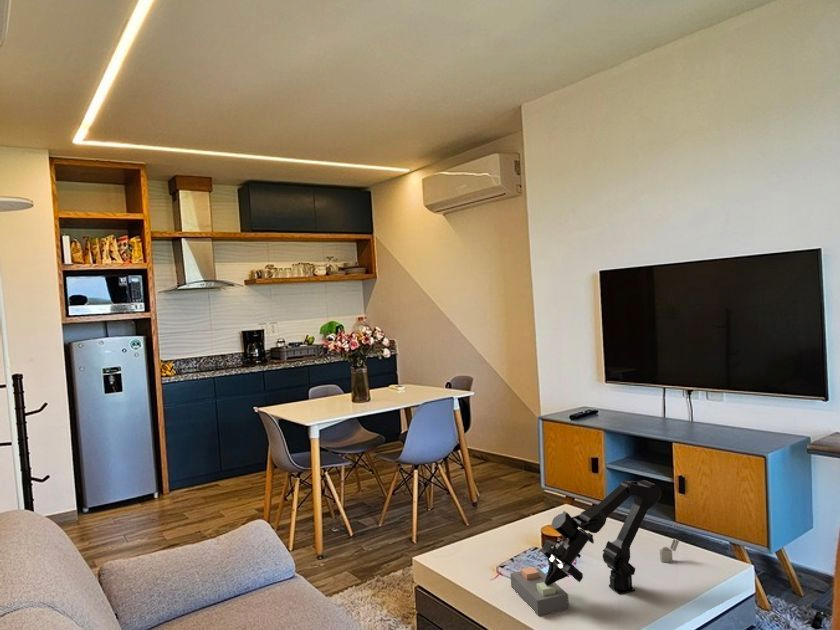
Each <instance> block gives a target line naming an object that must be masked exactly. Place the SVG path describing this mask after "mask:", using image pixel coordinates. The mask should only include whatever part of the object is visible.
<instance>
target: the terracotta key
mask: <svg viewBox="0 0 840 630" xmlns="http://www.w3.org/2000/svg"><path fill="white" fill-rule="evenodd" d="M520 571H521V576H522V577H523V578H524V579H525V580H526V581H527V580H533V579H538V578H539V572H538V571H537V570H536V568H535V567H534V566H529V567H524V568H521V569H520Z"/></svg>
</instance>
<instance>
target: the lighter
mask: <svg viewBox="0 0 840 630" xmlns="http://www.w3.org/2000/svg"><path fill="white" fill-rule="evenodd" d="M679 543H680V541H679V539H676V538H673V539H672V542H671V545H670V547H668V546H663V547H662V549H661V548H660V549H659V561H660V562H661V563H672V562H674V561H673V552H676V550H677V548H678V546H679Z"/></svg>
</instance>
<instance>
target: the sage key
mask: <svg viewBox="0 0 840 630" xmlns="http://www.w3.org/2000/svg"><path fill="white" fill-rule="evenodd" d="M536 585H537V591H538V592H539V593H540V594H541V595H542V596H547V595H552V594H556V587H555V586H554V585H553V584H550V585H548V586H547V585H546V584H545V582H542V583H537V584H536Z"/></svg>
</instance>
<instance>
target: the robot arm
mask: <svg viewBox="0 0 840 630" xmlns="http://www.w3.org/2000/svg"><path fill="white" fill-rule="evenodd" d="M661 490H662V489H661V487H660V486H659V485H658V484H655V483H653V482H651V481H648V480H646V479H645V480H644V479H642V480H639V481H633V480H629V481H628V480H622V481H621V482H620V483H619V485H618V486H617V487H616V488H615V489H614V490H613V491H611V492H610V493H609V494H608V495H607V496H606V497H604V499H603V500H601V501H600V502H598V504H596V505H593V506H591V507H588V508H586V509H584V510H583V511H581V512H580V513H579V514H578V515H575V516H571V515H570V514H569V513H568V512H566V511H562V513H559V514H557V515H556V516H554V518H553V519H552V521H551V527H552V528H553V529H554V530H555V531H556V532H557V533H558V534H559V535H560V536H562V537H563V538H564V539H565V541H564V540H561V541H559V543H558V542H555V541H552V540H548V539H545V542H544V545H543V546H542V547H541V549H540V550H539V552H541V554H543V555H544V556H545V557H546V559H547V560H546V561H548V563H547V564H548V570H547V573H546V575H547V576H546V580H545V584H546V585H547V586H548V585H550V584H552V583H554V582H555V583H557V582H558V581H560V580H562V579H565V578H569V577H570V576H571V577H573V579H574V580H576V581H577V582H578V583H581V581H582V580H583V578H584V576H583V575H584V573H582V571H580V570H579V569H578V568H577V567H576V566H574V565H573V563H574V561H575V560H576V558H578V559H580V558H582V557H581V556H582V555H581V554H580V553H581V551H582V550H583V549H584V547H585V546H586V544H587V543H588V542H590V543H591V544H594V543H595V541H594V540H595V539H594V535H593V534H597V533H599V532H600V531H601V530H602V529H603V527H604V526H605V525H606V523H607V519H608V517H609V516H610V515H611V514H612V513H614V511H616V510H617V509H618V508H619V507H620V506H621V505H622V504H624V502H626V501H627V500H628V499H630V497H631V496H633V504H632V506H631V508H630V509H629V512H628V515H627V516H626V518H625V520H624V522H623V525H622V527H621V529H620V530H619V533H618V535H617V537H616V539H614V540H613V541H612V542H611V541H609V540H608V541H607V542H606V545H605V547H604V549H602V552H603V554H602V559H603V562H604V563H605V564H606V566H607V568H608V569H611V570H610V575H609V584H608V587H609V588H611V590H613V591H614V592H616V593H617V594H618V595H622V594H627V593H630V592H631V593H632V592H635V591H636V588H634V587H633V577H632V576H633V575H635V572H636V567H635V566H634V565H633V564H631V563H630V560H631V545H632V543H634V540H635V537H637V533H638V530H639V529H640V527H641V525H642V523H643V520H644V518H645V517H646V514H647V512H648V510H649V509H651V508H653V507H654V506H655V505H656V504H657V503H658V501H659V500H660V498H661V496H662V491H661ZM587 532H588V533H587Z"/></svg>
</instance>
